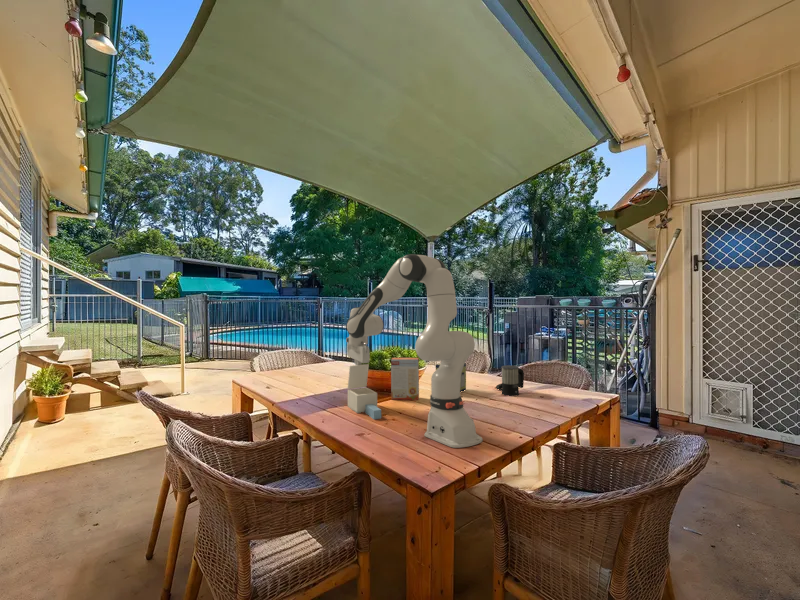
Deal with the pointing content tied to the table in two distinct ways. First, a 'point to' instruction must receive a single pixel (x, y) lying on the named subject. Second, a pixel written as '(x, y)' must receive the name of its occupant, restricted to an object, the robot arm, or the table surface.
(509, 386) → the milk frother
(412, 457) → the table surface
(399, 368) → the cracker box
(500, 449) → the table surface
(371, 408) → the blue-gray rectangular block
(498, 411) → the table surface
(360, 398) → the carton
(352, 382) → the lid flap
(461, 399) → the robot arm
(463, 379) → the protein box
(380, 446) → the table surface
